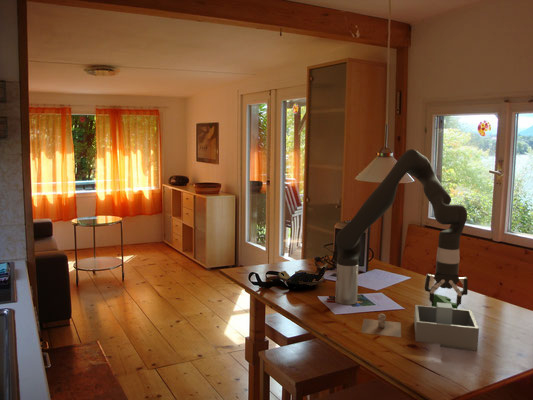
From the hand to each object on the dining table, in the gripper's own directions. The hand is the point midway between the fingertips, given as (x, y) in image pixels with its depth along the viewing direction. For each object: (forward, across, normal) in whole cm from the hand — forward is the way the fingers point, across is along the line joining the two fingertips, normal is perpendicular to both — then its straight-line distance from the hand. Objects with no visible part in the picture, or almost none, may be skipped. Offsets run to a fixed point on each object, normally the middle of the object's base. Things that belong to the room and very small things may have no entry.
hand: (444, 304), depth 168 cm
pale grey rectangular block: (+12, 0, 0) cm, 12 cm away
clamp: (+13, -3, -28) cm, 31 cm away
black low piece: (+14, +60, -48) cm, 78 cm away
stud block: (+13, +22, 0) cm, 25 cm away
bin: (+12, 0, 0) cm, 13 cm away
